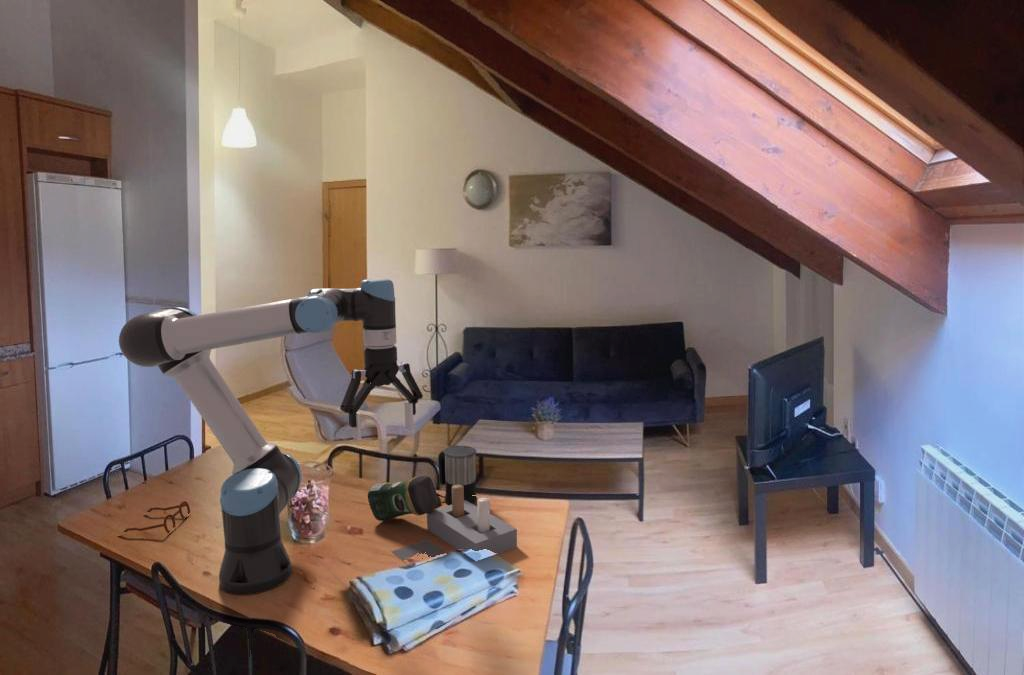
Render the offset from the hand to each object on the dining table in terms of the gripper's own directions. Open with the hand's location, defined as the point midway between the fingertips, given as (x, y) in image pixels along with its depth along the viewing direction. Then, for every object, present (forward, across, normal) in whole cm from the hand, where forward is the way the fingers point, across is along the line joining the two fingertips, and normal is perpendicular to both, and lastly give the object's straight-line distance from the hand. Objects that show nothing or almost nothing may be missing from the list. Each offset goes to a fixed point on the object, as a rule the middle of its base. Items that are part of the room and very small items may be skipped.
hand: (384, 434), depth 161 cm
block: (+29, +18, -9) cm, 35 cm away
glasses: (+29, -42, +50) cm, 72 cm away
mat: (+29, +4, -8) cm, 30 cm away
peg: (+29, +18, -14) cm, 37 cm away
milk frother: (+29, +26, +14) cm, 41 cm away
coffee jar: (+24, +6, +17) cm, 30 cm away
